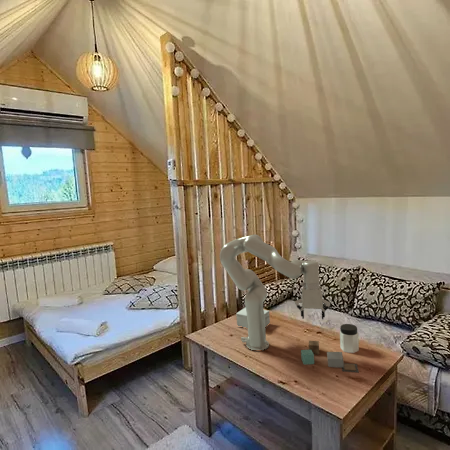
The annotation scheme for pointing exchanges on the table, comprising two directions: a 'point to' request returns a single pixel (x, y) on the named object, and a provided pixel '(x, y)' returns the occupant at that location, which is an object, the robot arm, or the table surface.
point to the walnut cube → (314, 347)
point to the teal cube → (307, 357)
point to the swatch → (350, 368)
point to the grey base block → (335, 359)
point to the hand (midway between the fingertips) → (312, 318)
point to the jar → (349, 338)
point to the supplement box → (243, 318)
